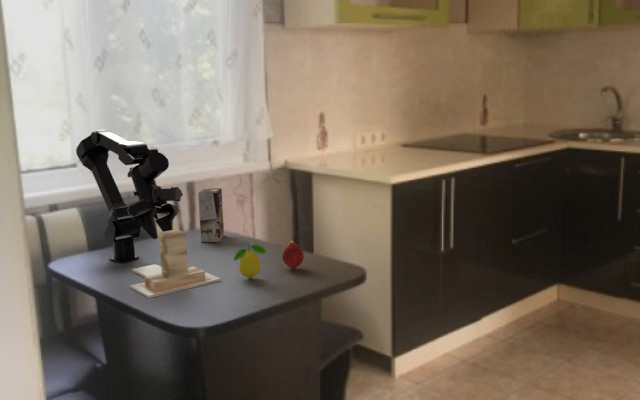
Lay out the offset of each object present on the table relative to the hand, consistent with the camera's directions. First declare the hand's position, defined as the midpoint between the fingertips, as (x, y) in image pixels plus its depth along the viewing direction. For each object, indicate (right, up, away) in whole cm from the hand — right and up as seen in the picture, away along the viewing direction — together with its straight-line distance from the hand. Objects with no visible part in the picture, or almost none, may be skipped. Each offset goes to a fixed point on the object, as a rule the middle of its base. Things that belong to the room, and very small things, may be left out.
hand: (163, 239), depth 181 cm
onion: (+35, -9, +2) cm, 36 cm away
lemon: (+24, -10, -5) cm, 27 cm away
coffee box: (+7, -2, +40) cm, 40 cm away
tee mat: (+1, -10, -2) cm, 11 cm away
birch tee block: (+5, -10, -8) cm, 14 cm away
